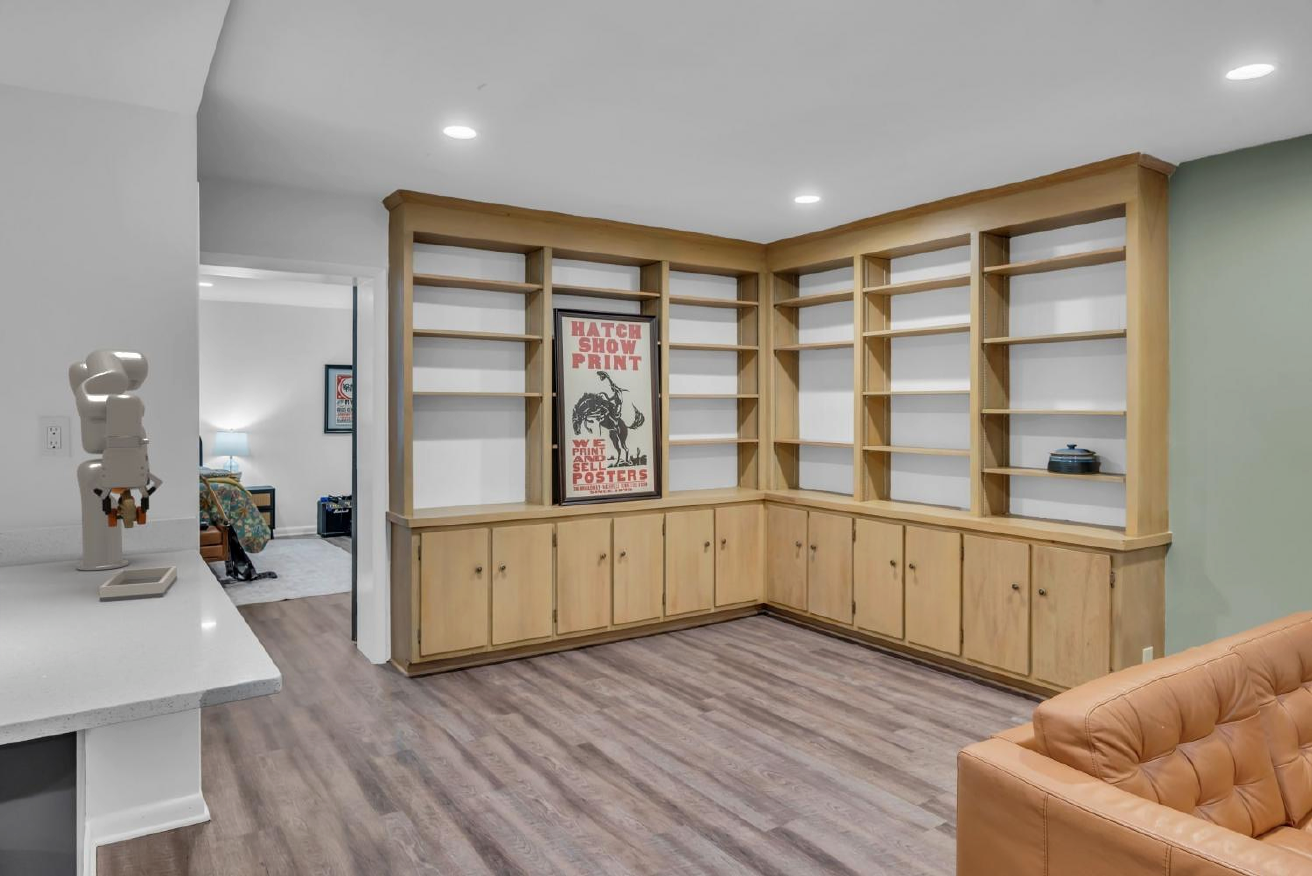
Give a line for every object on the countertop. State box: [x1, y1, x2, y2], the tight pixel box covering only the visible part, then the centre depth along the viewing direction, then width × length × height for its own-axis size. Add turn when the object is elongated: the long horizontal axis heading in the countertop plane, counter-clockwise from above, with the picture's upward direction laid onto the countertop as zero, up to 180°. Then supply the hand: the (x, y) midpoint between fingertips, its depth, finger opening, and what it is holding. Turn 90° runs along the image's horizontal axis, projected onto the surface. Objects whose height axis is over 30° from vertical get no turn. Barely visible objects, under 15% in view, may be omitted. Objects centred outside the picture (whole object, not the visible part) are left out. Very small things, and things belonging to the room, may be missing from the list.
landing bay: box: [98, 565, 178, 602], centre depth 206 cm, size 23×13×4 cm, turn 23°
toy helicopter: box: [108, 488, 147, 529], centre depth 204 cm, size 8×21×14 cm, turn 37°
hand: (126, 513), depth 205 cm, fingers closed on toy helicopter, 7 cm apart
